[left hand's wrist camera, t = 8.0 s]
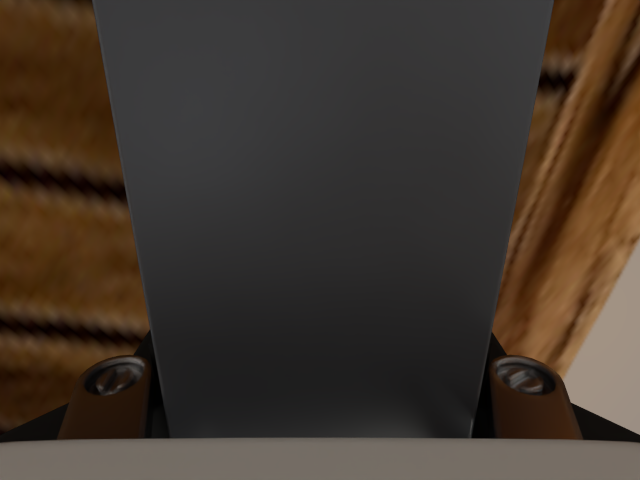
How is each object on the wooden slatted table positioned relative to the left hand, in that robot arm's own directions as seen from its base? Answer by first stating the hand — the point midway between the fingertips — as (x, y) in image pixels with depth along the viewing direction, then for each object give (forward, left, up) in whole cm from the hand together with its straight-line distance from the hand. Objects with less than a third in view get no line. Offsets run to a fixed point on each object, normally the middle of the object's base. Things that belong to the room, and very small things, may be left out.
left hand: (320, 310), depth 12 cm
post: (+23, +10, -3) cm, 26 cm away
